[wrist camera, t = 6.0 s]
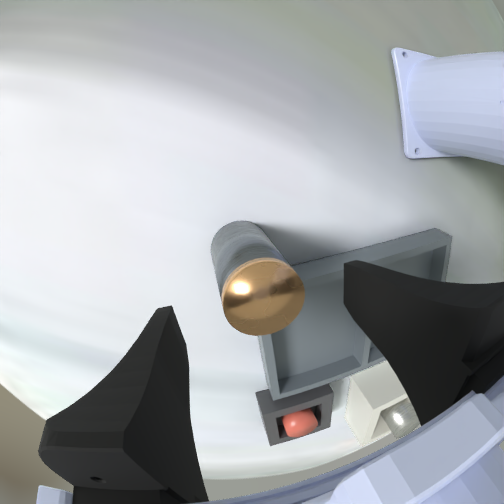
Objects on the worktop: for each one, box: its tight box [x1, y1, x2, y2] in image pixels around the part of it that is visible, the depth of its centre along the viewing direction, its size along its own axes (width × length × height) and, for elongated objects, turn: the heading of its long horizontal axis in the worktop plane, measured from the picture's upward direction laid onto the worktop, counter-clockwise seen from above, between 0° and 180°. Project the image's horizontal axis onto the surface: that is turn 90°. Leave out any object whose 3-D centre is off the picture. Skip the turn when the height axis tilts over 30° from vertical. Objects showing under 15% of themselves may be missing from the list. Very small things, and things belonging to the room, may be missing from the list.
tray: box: [258, 228, 452, 401], centre depth 20 cm, size 16×10×2 cm, turn 99°
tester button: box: [281, 407, 318, 437], centre depth 21 cm, size 3×3×2 cm
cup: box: [344, 360, 408, 447], centre depth 24 cm, size 8×8×5 cm
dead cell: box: [380, 397, 420, 438], centre depth 23 cm, size 3×3×6 cm
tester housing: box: [256, 384, 333, 446], centre depth 22 cm, size 6×6×2 cm
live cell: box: [211, 221, 305, 336], centre depth 14 cm, size 3×3×6 cm
